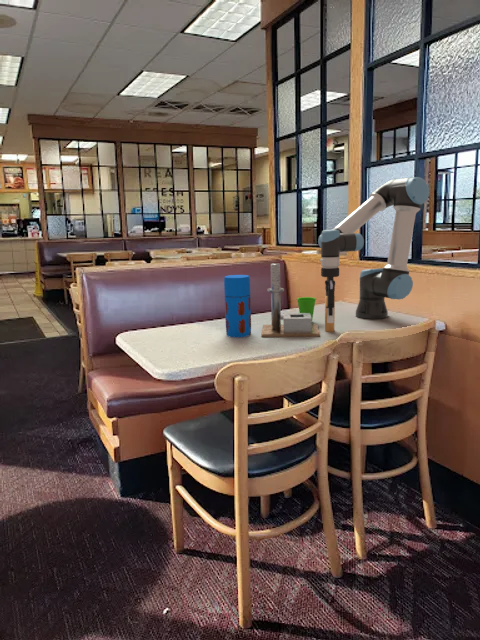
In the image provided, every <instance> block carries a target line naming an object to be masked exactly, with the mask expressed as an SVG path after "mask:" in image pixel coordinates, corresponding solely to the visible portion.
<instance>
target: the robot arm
mask: <svg viewBox="0 0 480 640" xmlns="http://www.w3.org/2000/svg"><path fill="white" fill-rule="evenodd" d="M429 196H430V188H429V186H428V183H427V181H426V180H425V179H424V178H422V177H419V176H410V177H402V178H394V179H389V181H387V182H385V183H384V184H382V185H380V186H379V187H378V188H376V189H375V190H374V191H373V192H372V193H370V194H369V196H368V199H367V200H366V201H364V202H363V203H362V204H361V205H360V206H358V207H357V208H356V209H355V210H354V211H352V212H351V213H350V214H349V215H348V216H346V218H345V219H343V220H342V221H341V222H339V224H337V225H336V226H335V227H334V228H332V229H323V230H322V231H321V233H320V235H319V236H318V239H317V240H318V241H317V243H318V245H319V248H320V250H321V251H320V256H321V259H319V262H321V263H320V265H321V268H320V276H321V277H322V278H326V280H325V281H324V285H325V296H328V306H327V307H326V308H327V323H334V324H335V322H334V296H335V289H336V288H335V287H336V281H335V280H334V278H337V277H339V276H340V262H341V261H340V254H341V253H347V252H348V253H349V252H359V251H360V250H362V249H363V247H364V245H365V244H364V243H365V239H364V237H363V235H362V234H361V233H357V231H358V230H359V229H360V228H362V227H363V226H364V225H365V224H366V223H367V222H368V221H369V220H371V219H372V218H373V217H374V216H376V214H377V213H379V212H383V211H384V210H386V209H387V208H390V207H391V206H393V207H392V208H393V209H394V211H395V215H394V223H393V228H392V233H391V239H390V245H389V251H388V257H387V261H386V262H387V264H385V265H384V266H383V267H382V268H369V269H362V270H361V271H360V273H359V275H360V276H359V302H358V304H357V307H356V309H355V317H357V318H359V319H365V320H366V319H369V320H377V319H378V320H380V319H386V318H388V316H389V315H388V314H389V312H388V309H387V305H386V302H385V298H386V299H387V298H388V299H391V300H403V299H405V298H406V297H408V296H409V294H411V292H412V289H413V285H414V281H413V278H412V277H411V276H410V270H409V268H408V260H409V254H410V251H411V250H410V249H411V244H412V239H413V238H412V237H413V232H414V226H415V221H416V215H417V213H419V211H421V207H422V205H424V203H426V201H427V200H428V199H429Z"/></svg>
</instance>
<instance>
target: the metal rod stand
mask: <svg viewBox="0 0 480 640" xmlns="http://www.w3.org/2000/svg"><path fill="white" fill-rule="evenodd" d="M284 291H285V288H283V287H281V263H270V287H269V288H267V293H270V302H271V303H270V306H271V307H270V308H271V309H270V311H271V316H270V317H271V324H262V329H261V338H289V337H290V338H300V337H301V338H303V337H305V338H306V337H309V338H310V337H313V338H314V337H318V338H319V337H320V335H321V334H320V331H319V328H318V324H317V323H314V324H313V323H312V322H313V318H311V315H310V313H300V312H295V313H294V312H291V313H290V312H289V313H288V312H287V313H283V314H282V313H281V311H282V310H281V293H284ZM281 321H283V324H282V322H281Z"/></svg>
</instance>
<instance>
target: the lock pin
mask: <svg viewBox="0 0 480 640" xmlns="http://www.w3.org/2000/svg"><path fill="white" fill-rule="evenodd" d="M335 298H336V297H335V295H334V323H327V308H326V307H327V306H328V296H326V295H325V297H324V332H326V333H332V332H335V322H336V321H335V317H336V316H335V313H336V312H335V306H336V305H335V304H336V299H335Z"/></svg>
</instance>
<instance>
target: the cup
mask: <svg viewBox="0 0 480 640" xmlns="http://www.w3.org/2000/svg"><path fill="white" fill-rule="evenodd" d="M296 300H297V305H298V313H310V315H311V318H312V319H313V317H314V312H315V311H314V310H315V305H316V300H317V297H313V296H312V297H310V296H304V297H297V298H296Z"/></svg>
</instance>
